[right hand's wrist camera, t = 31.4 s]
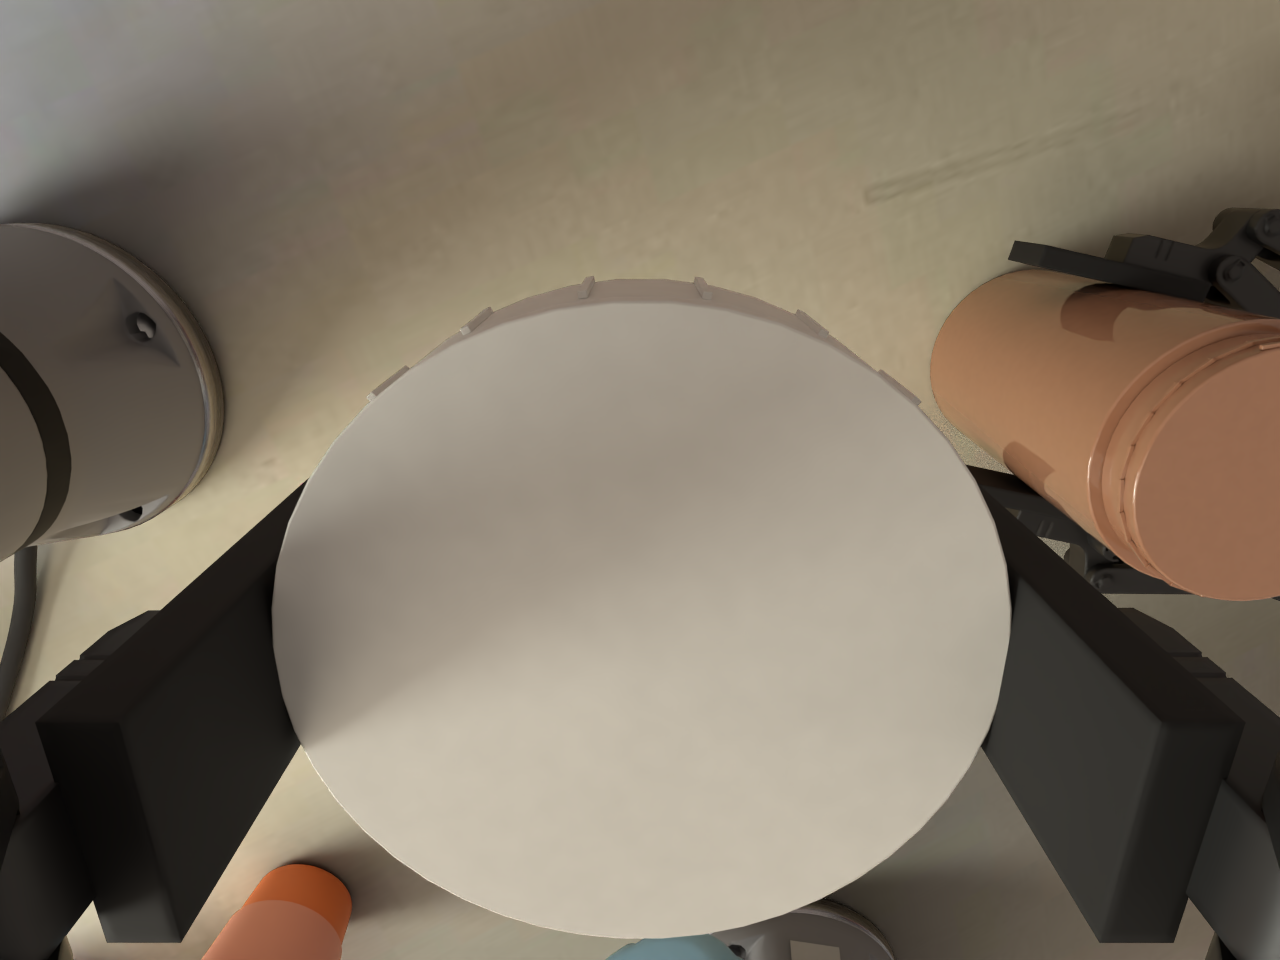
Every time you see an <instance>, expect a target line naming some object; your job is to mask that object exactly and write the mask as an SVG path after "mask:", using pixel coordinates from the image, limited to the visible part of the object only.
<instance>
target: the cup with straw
mask: <svg viewBox="0 0 1280 960" xmlns="http://www.w3.org/2000/svg"><path fill="white" fill-rule="evenodd" d="M351 911H352V901H351V897H350V894H349V892H348V890H347V889H346V887H345V886H344V885H343V883H342V882H341V881H340V880H339V879H338V878H336V877H335V876H334V875H332V874H331V873H329V872H327V871H325V870H323V869H320V868H318V867H314V866H310V865H304V864H292V865H285V866H282V867H279V868H276V869H274V870H272V871H271V872H269V873H268V874H267V875H266V876H265V877H264V878H263V879H262V880H261V881H260V883H259V884H258V885H257V887H256V888H255V890H254V891H253V892H252V894H251V895H250V897H249V898H248V899H247V901H246V902H245V904H244V905H243V907H242V908H241V909H240V910H238V911H237V912H236V913H235V914H234V915H233V916H232V917H231V918H230V920H229V921H228V923H227V924H226V925H225V927H224V928H223V930H222V931H221V932H220V934H219V935H218V937H217V938H216V939H215V941H214V942H213V944H212V945H211V946H210V948H209V949H208V951H207V952H206V953H205V955H204V956H203V958H202V959H201V960H340V958H341V953H342V948H341V945H342V942H343V939H344V935H345V932H346V929H347V926H348V922H349V919H350V915H351Z"/></svg>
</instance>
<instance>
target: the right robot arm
mask: <svg viewBox="0 0 1280 960" xmlns="http://www.w3.org/2000/svg"><path fill="white" fill-rule="evenodd" d="M223 419H224V401H223V391H222V384H221V379H220V375H219V371H218V367H217V364H216V361H215V358H214V355H213V353H212V350H211V348H210V346H209V343H208V341H207V339H206V337H205V335H204V333H203V331H202V330H201V328H200V326H199V324H198V323H197V321H196V320H195V318H194V317H193V315H192V314H191V312H190V311H189V309H188V308H187V307H186V305H185V304H184V303H183V302H182V300H181V299H180V298H179V296H178V295H177V294H176V293H175V292H174V291H173V290H172V289H171V288H170V287H169V286H168V285H167V283H166V282H165V281H163V280H162V279H161V278H160V277H159V276H158V275H157V274H156V273H155V272H154V271H152V270H151V269H150V268H149V267H147V266H146V265H145V264H143V263H142V262H141V261H139V260H138V259H137V258H135V257H134V256H132V255H130V254H129V253H127V252H126V251H124V250H123V249H121V248H119V247H117V246H115V245H113V244H112V243H110V242H108V241H105V240H103V239H101V238H99V237H96V236H94V235H91V234H88V233H85V232H82V231H80V230H77V229H72V228H68V227H64V226H60V225H52V224H45V223H13V224H0V562H1V561H3V560H4V559H6V558H8V557H9V556H11V555H13V554H15V556H14V580H15V595H14V605H13V612H12V618H11V623H10V628H9V633H8V637H7V641H6V645H5V649H4V653H3V656H2V660H1V663H0V960H73V955H72V950H71V947H70V944H69V941H68V938H67V936H66V935H67V934H68V932H69V931H70V930H71V928H72V927H73V926H74V924H75V923H76V922H77V920H78V919H79V918H80V917H81V915H82V914H83V913H84V911H85V910H86V909H87V907H88V906H89V905H90V903H91V902H92V901H93V902H94V905H95V908H96V911H97V914H98V917H99V920H100V923H101V926H102V929H103V932H104V935H105V938H106V941H107V943H181V942H182V940H183V938H184V937H185V935H186V933H187V932H188V930H189V928H190V927H191V925H192V923H193V922H194V920H195V918H196V917H197V915H198V914H199V912H200V910H201V909H202V907H203V905H204V904H205V902H206V900H207V899H208V897H209V895H210V894H211V892H212V890H213V889H214V887H215V885H216V884H217V882H218V880H219V879H220V877H221V875H222V874H223V872H224V870H225V869H226V867H227V865H228V864H229V862H230V861H231V859H232V857H233V856H234V854H235V852H236V851H237V849H238V847H239V846H240V844H241V842H242V841H243V839H244V837H245V836H246V834H247V832H248V831H249V829H250V827H251V826H252V824H253V822H254V821H255V819H256V817H257V816H258V814H259V813H260V811H261V809H262V808H263V806H264V804H265V803H266V801H267V799H268V798H269V796H270V794H271V793H272V791H273V789H274V788H275V786H276V784H277V783H278V781H279V779H280V778H281V776H282V774H283V773H284V771H285V769H286V768H287V766H288V765H289V763H290V761H291V760H292V758H293V756H294V755H295V753H296V751H297V750H298V748H299V746H300V745H301V743H300V741H299V739H298V737H297V735H296V733H295V731H294V728H293V725H292V722H291V720H290V717H289V714H288V711H287V708H286V705H285V702H284V700H283V696H282V692H281V686H280V681H279V676H278V671H277V665H276V660H275V655H274V649H273V636H272V610H271V609H272V600H273V591H274V582H275V574H276V565H277V562H278V558H279V554H280V551H281V547H282V544H283V540H284V536H285V533H286V529H287V526H288V522H289V520H290V518H291V516H292V514H293V511H294V509H295V507H296V505H297V503H298V500H299V498H300V496H301V494H302V492H303V489H304V487H305V485H306V483H307V481H308V479H309V478H310V477H309V478H308V479H307V480H306V481H305V482H304V483H303V484H302V485H300V486H299V487H298V488H297V489H296V490H295V491H294V492H293V493H292V494H290V495H289V496H288V497H287V498H286V499H285V500H284V501H283V502H281V503H280V504H279V505H278V506H277V507H276V508H275V509H274V510H272V511H271V512H270V513H269V514H268V515H267V516H266V517H265V518H263V519H262V520H261V521H260V522H259V523H258V524H257V525H256V526H255V527H253V528H252V529H251V530H250V531H249V532H248V533H247V534H246V535H244V536H243V537H242V538H241V539H240V540H239V541H238V542H237V543H235V544H234V545H233V546H232V547H231V548H230V549H229V550H228V551H226V552H225V553H224V554H223V555H222V556H221V557H220V558H219V559H218V560H216V561H215V562H214V563H213V564H212V565H211V566H210V567H209V568H207V569H206V570H205V571H204V572H203V573H202V574H201V575H200V576H198V577H197V578H196V579H195V580H194V581H193V582H192V583H191V584H189V585H188V586H187V587H186V588H185V589H184V590H183V591H182V592H181V593H179V594H178V595H177V596H176V597H175V598H174V599H173V600H172V601H170V602H169V603H168V604H167V605H166V606H165V607H164V608H163V609H161V610H160V611H147V612H145V613H143V614H141V615H139V616H137V617H135V618H133V619H131V620H129V621H127V622H125V623H123V624H121V625H119V626H118V627H116V628H114V629H112V630H110V631H108V632H107V633H106V634H105V635H103V636H102V637H101V638H100V639H99V640H97V641H96V642H95V643H94V644H93V645H92V646H90V647H89V648H88V649H87V650H86V651H84V652H83V653H82V654H81V655H80V659H79V660H74V661H73V662H71V663H70V664H69V665H68V666H67V667H65V668H64V669H63V670H62V671H61V672H60V673H58V674H57V675H56V680H55V681H49V682H48V683H46V684H45V685H44V686H43V687H42V688H41V689H39V690H38V691H37V692H36V693H35V694H33V695H32V696H31V697H30V698H29V699H28V700H26V701H25V702H24V703H23V704H22V705H20V706H19V707H18V708H17V709H16V710H14V711H13V712H12V713H11V714H10V715H9V716H7V717H6V718H5V719H4V717H5V714H6V711H7V708H8V704H9V701H10V698H11V694H12V691H13V688H14V684H15V681H16V678H17V675H18V671H19V668H20V665H21V662H22V658H23V655H24V651H25V648H26V644H27V640H28V636H29V632H30V627H31V623H32V618H33V612H34V606H35V600H36V561H37V545H41V544H47V543H54V542H60V541H66V540H73V539H79V538H85V537H92V536H98V535H104V534H109V533H113V532H118V531H122V530H126V529H129V528H132V527H135V526H138V525H140V524H142V523H144V522H146V521H148V520H150V519H152V518H154V517H155V516H157V515H158V514H160V513H161V512H163V511H165V510H166V509H168V508H169V507H171V506H172V505H174V504H175V503H177V502H178V501H180V500H181V499H182V498H184V497H185V496H186V495H187V494H188V493H190V492H191V491H192V490H193V489H194V488H195V486H196V485H197V484H198V483H199V482H200V481H201V479H202V478H203V477H204V475H205V474H206V473H207V471H208V469H209V467H210V465H211V464H212V462H213V459H214V457H215V455H216V452H217V450H218V446H219V443H220V439H221V434H222V428H223ZM977 484H978V483H977ZM978 487H979V489H980V491H981V493H982V495H983V498H984V500H985V502H986V504H987V506H988V508H989V511H990V513H991V515H992V517H993V519H994V522H995V525H996V528H997V532H998V536H999V539H1000V543H1001V546H1002V550H1003V553H1004V557H1005V561H1006V564H1007V572H1008V580H1009V589H1010V597H1011V606H1012V615H1011V632H1010V639H1009V645H1008V650H1007V656H1006V661H1005V666H1004V671H1003V677H1002V682H1001V687H1000V692H999V697H998V702H997V706H996V711H995V714H994V717H993V720H992V723H991V726H990V729H989V731H988V733H987V735H986V737H985V739H984V741H983V743H982V745H981V747H982V749H983V750H984V752H985V754H986V755H987V757H988V759H989V760H990V762H991V764H992V765H993V767H994V769H995V770H996V772H997V774H998V775H999V777H1000V779H1001V780H1002V782H1003V784H1004V785H1005V787H1006V788H1007V790H1008V792H1009V793H1010V795H1011V797H1012V798H1013V800H1014V802H1015V803H1016V805H1017V807H1018V808H1019V810H1020V812H1021V813H1022V815H1023V817H1024V818H1025V820H1026V822H1027V823H1028V825H1029V827H1030V828H1031V830H1032V832H1033V833H1034V835H1035V836H1036V838H1037V840H1038V841H1039V843H1040V845H1041V846H1042V848H1043V850H1044V851H1045V853H1046V855H1047V856H1048V858H1049V860H1050V861H1051V863H1052V865H1053V866H1054V868H1055V870H1056V871H1057V873H1058V875H1059V876H1060V878H1061V880H1062V881H1063V883H1064V884H1065V886H1066V888H1067V889H1068V891H1069V893H1070V894H1071V896H1072V898H1073V899H1074V901H1075V903H1076V904H1077V906H1078V908H1079V909H1080V911H1081V913H1082V914H1083V916H1084V918H1085V919H1086V921H1087V923H1088V924H1089V926H1090V928H1091V929H1092V931H1093V933H1094V934H1095V936H1096V937H1097V939H1098V941H1099V942H1100V943H1174V940H1175V937H1176V934H1177V931H1178V928H1179V925H1180V922H1181V919H1182V916H1183V913H1184V910H1185V907H1186V904H1187V900H1188V897H1189V898H1190V900H1191V901H1192V902H1193V904H1194V905H1195V906H1196V907H1197V909H1198V910H1199V911H1200V913H1201V914H1202V915H1203V917H1204V918H1205V919H1206V920H1207V922H1208V923H1209V924H1210V926H1211V927H1212V928H1213V930H1214V931H1215V933H1214V936H1213V938H1212V941H1211V944H1210V947H1209V950H1208V953H1207V956H1206V958H1205V960H1280V718H1279V717H1278V716H1277V715H1276V714H1275V713H1273V712H1272V711H1271V710H1270V709H1269V708H1267V707H1266V706H1265V705H1264V704H1263V703H1261V702H1260V701H1259V700H1258V699H1257V698H1255V697H1254V696H1253V695H1252V694H1251V693H1249V692H1248V691H1247V690H1246V689H1245V688H1243V687H1242V686H1241V685H1240V684H1239V683H1238V682H1236V681H1235V680H1234V679H1233V678H1226V672H1224V671H1223V670H1222V669H1221V668H1220V667H1218V666H1217V665H1216V664H1215V663H1214V662H1212V661H1211V660H1210V659H1209V658H1208V657H1202V655H1201V654H1202V652H1200V651H1199V650H1198V649H1197V648H1196V647H1195V646H1193V645H1192V644H1191V643H1190V642H1189V641H1187V640H1186V639H1185V638H1184V637H1183V636H1181V635H1180V634H1179V633H1178V632H1177V631H1175V630H1174V629H1173V628H1171V627H1169V626H1167V625H1165V624H1163V623H1161V622H1159V621H1157V620H1156V619H1154V618H1152V617H1150V616H1148V615H1146V614H1144V613H1142V612H1140V611H1138V610H1136V609H1134V608H1117V607H1116V606H1115V605H1113V604H1112V603H1111V602H1110V601H1109V600H1108V599H1107V598H1106V597H1105V596H1103V595H1102V594H1101V593H1100V592H1099V591H1098V590H1097V589H1096V588H1094V587H1093V586H1092V585H1091V584H1090V583H1089V582H1088V581H1087V580H1085V579H1084V578H1083V577H1082V576H1081V575H1080V574H1079V573H1078V572H1076V571H1075V570H1074V569H1073V568H1072V567H1071V566H1070V565H1069V564H1068V563H1066V562H1065V561H1064V560H1063V559H1062V558H1061V557H1060V556H1059V555H1057V554H1056V553H1055V552H1054V551H1053V550H1052V549H1051V548H1050V547H1048V546H1047V545H1046V544H1045V543H1044V542H1043V541H1042V540H1041V539H1039V538H1038V537H1037V536H1036V535H1035V534H1034V533H1033V532H1032V531H1030V530H1029V529H1028V528H1027V527H1026V526H1025V525H1024V524H1023V523H1022V522H1020V521H1019V520H1018V519H1017V518H1016V517H1015V516H1014V515H1013V514H1011V513H1010V512H1009V511H1008V510H1007V509H1006V508H1005V507H1004V506H1002V505H1001V504H1000V503H999V502H998V501H997V500H996V499H995V498H993V497H992V496H991V495H990V494H989V493H988V492H987V491H986V490H985V489H983V488H982V487H981V486H980V485H979V484H978Z"/></svg>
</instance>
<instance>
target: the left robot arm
mask: <svg viewBox="0 0 1280 960" xmlns="http://www.w3.org/2000/svg"><path fill="white" fill-rule="evenodd" d="M1254 258H1257V259H1259V260H1261V261H1263V262H1264V263H1266V264H1268V265H1270V266H1272V267H1274V268H1276V269H1278V270H1280V210H1279V209H1256V208H1228V209H1225V210H1223V211H1222V212H1220V213H1219V214H1218V215H1217V217H1216V218H1215V220H1214V222H1213V232H1212V233H1211V234H1210V235H1209V236H1208V237H1207V238H1206V239H1205V240H1204V241H1203V242H1201V243H1200V244H1198V245H1195V246H1192V245H1188V244H1184V243H1180V242H1175V241H1171V240H1167V239H1162V238H1158V237H1154V236H1150V235H1140V234H1130V233H1127V234H1121V235H1115V236H1113V239H1112V241H1111V244H1110V246H1109V248H1108V251H1107V253H1106V256H1105V258H1100V257H1095V256H1091V255H1087V254H1082V253H1078V252H1074V251H1069V250H1065V249H1061V248H1056V247H1052V246H1048V245H1042V244H1035V243H1028V242H1021V241H1015V242H1014V244H1013V247H1012V250H1011V253H1010V255H1009V258H1008V260H1012V261H1016V262H1021V263H1025V264H1029V265H1034V266H1038V267H1042V268H1047V269H1051V270H1055V271H1060V272H1064V273H1068V274H1073V275H1077V276H1081V277H1086V278H1090V279H1094V280H1099V281H1103V282H1107V283H1112V284H1116V285H1121V286H1126V287H1131V288H1136V289H1140V290H1145V291H1150V292H1156V293H1160V294H1165V295H1170V296H1175V297H1180V298H1185V299H1189V300H1194V301H1199V302H1205V303H1209V304H1214V305H1218V306H1223V307H1228V308H1233V309H1238V310H1243V311H1247V312H1252V313H1257V314H1262V315H1267V316H1272V317H1276V318H1280V292H1279V291H1278V290H1277V289H1276V288H1275V287H1274V286H1273V285H1272V284H1271V283H1270V282H1269V281H1268V280H1267V279H1266V278H1265V277H1264V276H1263V275H1262V274H1261V273H1260V272H1259V271H1258V270H1257V269H1256V268H1255V267H1254V266H1253V265H1252V264H1251V262H1252V260H1253V259H1254ZM966 467H967V468H968V470H969V471H970V473H971V474H972V476H973V477H974V479H975V480H976V482H977V483H978V484H979V485H980V486H981V487H982V488H983V489H985V490H986V491H987V492H988V493H989V494H990V495H991V496H992V497H993V498H995V499H996V500H997V501H998V502H999V503H1000V504H1001V505H1002V506H1004V507H1005V508H1006V509H1007V510H1008V511H1009V512H1010V513H1011V514H1013V515H1014V516H1015V517H1016V518H1017V519H1018V520H1019V521H1020V522H1022V523H1023V524H1024V525H1025V526H1026V527H1027V528H1028V529H1029V530H1030V531H1032V532H1033V533H1034V534H1035V535H1036V536H1039V537H1043V538H1044V537H1045V538H1048V539H1053V540H1058V541H1062V542H1067V543H1070V548H1069V549H1068V550H1067V551H1066V553H1065V555H1064V561H1065V562H1066V563H1068V564H1069V565H1070V566H1071V567H1072V568H1073V569H1074V570H1075V571H1076V572H1078V573H1079V574H1080V575H1081V576H1082V577H1083V578H1084V579H1085V580H1087V581H1088V582H1089V583H1090V584H1091V585H1092V586H1093V587H1094V588H1096V589H1097V590H1098V591H1099V592H1100V593H1108V594H1193V593H1190V592H1187V591H1184V590H1181V589H1178V588H1175V587H1172V586H1170V585H1169V584H1168V583H1166V582H1165V581H1164V580H1162V579H1158V578H1154V577H1151V576H1149V575H1147V574H1144V573H1142V572H1140V571H1138V570H1136V569H1134V568H1133V567H1131V566H1129V565H1128V564H1126V563H1125V562H1123V561H1122V560H1121V559H1120V558H1118V557H1117V556H1116V555H1115V554H1113V553H1112V552H1111V551H1110V550H1108V549H1107V548H1106V547H1105V546H1103V545H1102V544H1101V543H1100V542H1098V541H1097V540H1096V539H1095V538H1093V537H1092V536H1091V535H1089V534H1088V533H1087V532H1086V531H1084V530H1083V529H1082V528H1081V527H1079V526H1078V525H1077V524H1076V523H1074V522H1073V521H1072V520H1071V519H1069V518H1068V517H1067V516H1066V515H1064V514H1063V513H1062V512H1061V511H1059V510H1058V509H1057V508H1056V507H1054V506H1053V505H1052V504H1051V503H1049V502H1048V501H1047V500H1045V499H1044V498H1043V497H1042V496H1040V495H1039V494H1038V493H1037V492H1035V491H1034V490H1033V489H1032V488H1030V487H1029V486H1028V485H1027V484H1025V483H1024V482H1023V481H1022V480H1020V479H1019V478H1018V477H1017V476H1015V475H1012V474H1007V473H1002V472H998V471H993V470H988V469H984V468H979V467H974V466H970V465H966ZM1271 598H1273V599H1276V600H1278V601H1280V596H1276V597H1271ZM606 960H895V958H894V955H893V952H892V950H891V948H890V946H889V944H888V942H887V940H886V939H885V937H884V936H883V935H882V934H881V932H880V931H879V930H878V929H877V928H876V927H875V926H874V925H873V924H872V923H871V922H869V921H868V920H867V919H866V918H864V917H863V916H861V915H860V914H858V913H857V912H855V911H853V910H851V909H849V908H847V907H845V906H842V905H840V904H837V903H834V902H831V901H828V900H824V899H820V900H817V901H815V902H812V903H810V904H807V905H805V906H803V907H800V908H798V909H795V910H793V911H791V912H788V913H786V914H783V915H780V916H777V917H774V918H770V919H767V920H764V921H760V922H757V923H754V924H750V925H747V926H744V927H739V928H733V929H728V930H723V931H718V932H713V933H708V934H702V935H692V936H682V937H671V938H644V939H642V940H641V941H639V942H638V943H636V944H634V943H631V944H627V945H625V946H624V947H622V948H621V949H619V950H618V951H616V952H615V953H613V954H612V955H611V956H609V957H608V958H607V959H606Z"/></svg>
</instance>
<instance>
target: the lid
mask: <svg viewBox="0 0 1280 960" xmlns="http://www.w3.org/2000/svg"><path fill="white" fill-rule="evenodd" d="M460 330H461V331H459V332H458V333H456V334H454V335H453V336H451V337H450V338H448V339H446V340H445V341H444V342H443V343H441V344H440V345H439V346H438V347H436V348H435V349H434V350H433V351H431V352H430V353H429V354H428V355H427V356H425V357H424V358H423V359H422V360H420V361H419V362H418V363H417V364H415V365H414V366H413V367H412V368H410V369H409V368H408V367H407V366H404V367H403V368H402V369H400V370H399V371H398V372H396V373H395V374H394V375H393V376H391V377H390V378H389V379H387V380H386V381H385V382H384V383H382V384H381V385H380V386H378V387H377V388H376V389H375V390H373V391H372V392H371V393H370V394H369V395H368V396H367V397H366V398H367V399H368V400H369V401H370V402H369V403H368V404H367V405H366V406H365V407H364V408H363V409H362V410H361V411H360V412H359V413H358V415H357V416H356V417H355V418H354V419H353V420H352V421H351V422H350V423H349V425H348V426H347V427H346V428H345V429H344V430H343V431H342V432H341V433H340V435H339V436H338V437H337V438H336V439H335V440H334V441H333V443H332V444H331V446H330V447H329V449H328V450H327V452H326V453H325V455H324V456H323V458H322V459H321V461H320V462H319V464H318V466H317V467H316V469H315V470H314V472H313V473H312V475H311V476H310V478H309V479H308V481H307V483H306V485H305V487H304V489H303V492H302V494H301V496H300V498H299V500H298V503H297V505H296V507H295V509H294V511H293V514H292V516H291V518H290V520H289V522H288V526H287V529H286V533H285V536H284V540H283V544H282V547H281V551H280V554H279V558H278V562H277V565H276V574H275V582H274V591H273V600H272V609H271V610H272V636H273V649H274V655H275V660H276V665H277V671H278V676H279V681H280V686H281V692H282V696H283V700H284V702H285V705H286V708H287V711H288V714H289V717H290V720H291V722H292V725H293V728H294V731H295V733H296V735H297V737H298V739H299V741H300V743H301V745H302V747H303V748H304V750H305V752H306V754H307V756H308V758H309V760H310V762H311V764H312V766H313V768H314V769H315V771H316V772H317V773H318V775H319V776H320V778H321V779H322V781H323V782H324V783H325V785H326V786H327V788H328V789H329V791H330V792H331V794H332V795H333V796H334V798H335V799H336V801H337V802H338V803H339V804H340V805H341V806H342V807H343V808H344V809H345V811H346V812H347V813H348V814H349V815H350V816H351V817H352V818H353V819H354V821H355V822H356V823H357V824H358V825H359V826H360V827H361V828H362V829H363V830H364V831H365V832H366V833H367V834H368V835H369V836H370V837H372V838H373V839H374V840H375V841H376V842H377V843H378V844H380V845H381V846H382V847H383V848H384V849H385V850H386V851H388V852H389V853H390V854H391V855H392V856H393V857H395V858H396V859H398V860H399V861H400V862H402V863H403V864H405V865H406V866H408V867H409V868H411V869H412V870H413V871H415V872H416V873H418V874H419V875H421V876H422V877H424V878H425V879H426V880H428V881H430V882H432V883H434V884H436V885H437V886H439V887H441V888H443V889H445V890H447V891H449V892H450V893H452V894H454V895H456V896H458V897H460V898H461V899H463V900H466V901H468V902H471V903H473V904H476V905H478V906H480V907H483V908H485V909H488V910H490V911H492V912H495V913H497V914H500V915H503V916H506V917H509V918H513V919H516V920H519V921H523V922H526V923H529V924H533V925H536V926H540V927H544V928H550V929H555V930H560V931H565V932H570V933H575V934H581V935H591V936H601V937H612V938H671V937H682V936H692V935H702V934H708V933H713V932H718V931H723V930H728V929H733V928H739V927H744V926H747V925H750V924H754V923H757V922H760V921H764V920H767V919H770V918H774V917H777V916H780V915H783V914H786V913H788V912H791V911H793V910H795V909H798V908H800V907H803V906H805V905H807V904H810V903H812V902H815V901H817V900H820V899H822V898H823V897H825V896H827V895H829V894H831V893H833V892H835V891H836V890H838V889H840V888H842V887H844V886H846V885H847V884H849V883H851V882H853V881H855V880H857V879H858V878H859V877H861V876H862V875H864V874H865V873H867V872H868V871H870V870H871V869H872V868H874V867H875V866H877V865H878V864H880V863H881V862H883V861H884V860H885V859H887V858H888V857H890V856H891V855H892V854H893V853H894V852H896V851H897V850H898V849H899V848H900V847H901V846H902V845H904V844H905V843H906V842H907V841H908V840H909V839H910V838H912V837H913V836H914V835H915V834H916V833H917V832H918V831H920V830H921V828H922V827H923V826H924V825H925V824H926V823H927V822H928V821H929V820H930V818H931V817H932V816H933V815H934V814H935V813H936V812H937V811H938V810H939V808H940V807H941V806H942V805H943V804H944V803H945V802H946V801H947V799H948V798H949V797H950V795H951V794H952V792H953V791H954V789H955V788H956V787H957V785H958V784H959V782H960V781H961V779H962V778H963V776H964V775H965V774H966V772H967V771H968V769H969V768H970V766H971V764H972V762H973V760H974V758H975V757H976V755H977V753H978V751H979V749H980V747H981V745H982V743H983V741H984V739H985V737H986V735H987V733H988V731H989V729H990V726H991V723H992V720H993V717H994V714H995V711H996V706H997V702H998V697H999V692H1000V687H1001V682H1002V677H1003V671H1004V666H1005V661H1006V656H1007V650H1008V645H1009V639H1010V632H1011V615H1012V606H1011V597H1010V589H1009V580H1008V572H1007V564H1006V561H1005V557H1004V553H1003V550H1002V546H1001V543H1000V539H999V536H998V532H997V528H996V525H995V522H994V519H993V517H992V515H991V513H990V511H989V508H988V506H987V504H986V502H985V500H984V498H983V495H982V493H981V491H980V489H979V487H978V484H977V482H976V480H975V479H974V477H973V476H972V474H971V473H970V471H969V470H968V468H967V467H966V465H965V464H964V462H963V460H962V459H961V457H960V456H959V454H958V453H957V451H956V450H955V448H954V447H953V445H952V444H951V442H950V441H949V440H948V439H947V437H946V436H945V435H944V434H943V433H942V432H941V431H940V430H939V429H938V427H937V426H936V425H935V424H934V423H933V422H932V421H931V420H930V419H929V418H928V416H927V415H926V414H925V413H924V412H923V411H922V410H921V409H920V408H919V407H918V405H919V404H920V403H921V401H920V400H919V399H918V398H917V397H916V396H915V395H914V394H913V393H911V392H910V391H909V390H907V389H906V388H905V387H904V386H902V385H901V384H900V383H898V382H897V381H896V380H894V379H893V378H892V377H891V376H889V375H888V374H887V373H885V372H884V371H883V370H879V371H878V372H877V371H875V370H874V369H873V368H872V367H870V366H869V365H868V364H867V363H865V362H864V361H863V360H862V359H860V358H859V357H858V356H857V355H855V354H854V353H853V352H852V351H850V350H849V349H848V348H847V347H845V346H844V345H843V344H842V343H840V342H839V341H838V340H836V339H835V338H834V337H832V336H830V335H829V332H828V331H827V330H826V329H825V328H823V327H822V326H821V325H820V324H818V323H817V322H816V321H814V320H813V319H812V318H811V317H809V316H808V315H807V314H806V313H804V312H802V311H800V310H797V312H796V314H793V313H790V312H788V311H786V310H783V309H781V308H779V307H776V306H774V305H772V304H769V303H767V302H765V301H762V300H760V299H758V298H755V297H751V296H748V295H744V294H741V293H737V292H733V291H730V290H726V289H722V288H719V287H715V286H711V285H707V284H706V282H705V281H704V279H703V278H700V277H695V281H694V283H690V282H682V281H675V280H667V279H615V280H608V281H601V282H595V281H594V276H590V277H586V278H585V280H584V281H583V283H582V284H579V285H571V286H568V287H564V288H561V289H557V290H553V291H550V292H546V293H543V294H539V295H535V296H532V297H528V298H525V299H523V300H521V301H518V302H516V303H514V304H511V305H509V306H507V307H504V308H502V309H500V310H498V311H495V312H493V311H492V309H491V307H488V308H486V309H484V310H483V311H482V312H480V313H479V314H478V315H477V316H475V317H474V318H473V319H472V320H471V321H469V322H468V323H467V324H466V325H464V326H463V327H462V328H461V329H460Z"/></svg>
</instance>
